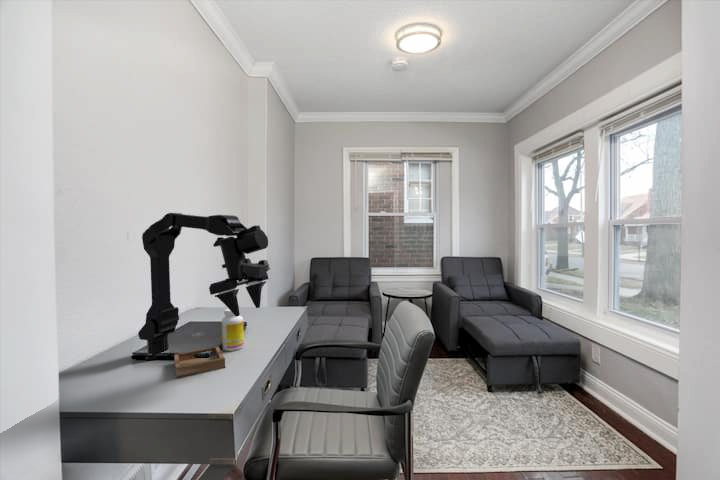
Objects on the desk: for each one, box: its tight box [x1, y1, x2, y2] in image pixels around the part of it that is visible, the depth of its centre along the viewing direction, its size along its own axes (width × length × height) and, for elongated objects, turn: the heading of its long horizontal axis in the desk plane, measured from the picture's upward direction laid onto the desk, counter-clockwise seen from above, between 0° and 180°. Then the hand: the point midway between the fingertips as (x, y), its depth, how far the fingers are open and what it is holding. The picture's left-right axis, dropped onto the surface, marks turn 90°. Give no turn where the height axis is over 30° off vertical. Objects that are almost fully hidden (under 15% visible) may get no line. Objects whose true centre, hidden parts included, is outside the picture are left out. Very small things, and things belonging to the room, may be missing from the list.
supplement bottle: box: [221, 307, 245, 352], centre depth 108 cm, size 7×7×13 cm
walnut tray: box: [173, 345, 226, 379], centre depth 94 cm, size 12×12×3 cm
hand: (248, 311), depth 92 cm, fingers open, 9 cm apart
